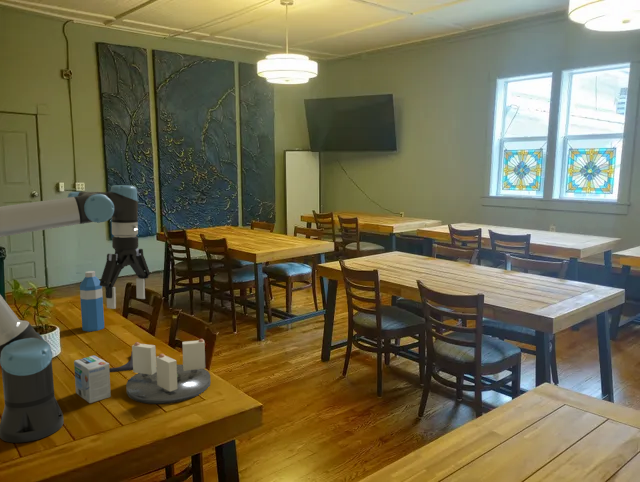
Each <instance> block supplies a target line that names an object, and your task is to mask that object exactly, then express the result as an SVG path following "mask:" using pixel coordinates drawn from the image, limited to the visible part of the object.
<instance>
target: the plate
mask: <svg viewBox="0 0 640 482" xmlns="http://www.w3.org/2000/svg"><path fill="white" fill-rule="evenodd" d="M156 371H157V366H156ZM210 386H211V374H210V372H209V371H208V370H207V369H206V368H205V369H197V372H196V373H192V372H191V370H186V371H184V370H183V364H177V389H176V390H173V391H170V392H164V388H162V387H160V386H158V385H157V372H156V373H154V374H152V375H149V374H148V376H146V377H142V373H136V374H134V375H132V376H131V377H130V378H128V380H127V382H126V385H125V387H126V389H125V390H126V394H127V395H126V396H128V397H129V399H131V400H133V401H136V402H138V403H143V404H148V405H149V404H150V405H167V404H175V403H179V402H183V401H188V400H190V399H191V400H192V399H193V398H196V397H198V396H200V395H201V393H202V392H203V393H205V392H206V391H207V390H208V389H209V388H210ZM208 387H209V388H208ZM207 388H208V389H207ZM206 389H207V390H206ZM205 390H206V391H205ZM204 391H205V392H204ZM203 393H202V394H203ZM199 394H200V395H199ZM195 396H196V397H195ZM187 399H188V400H187Z"/></svg>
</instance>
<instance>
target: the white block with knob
mask: <svg viewBox="0 0 640 482" xmlns="http://www.w3.org/2000/svg"><path fill="white" fill-rule="evenodd" d="M177 365H178V363H177V360H176V359H174V358H172V357H170V356H168V355H165V354H164V353H160V354H159V355H157V356H156V367H157V385H158V386H160V387H162V388H164V392H170V391H173V390H176V389H177Z"/></svg>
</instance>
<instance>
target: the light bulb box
mask: <svg viewBox="0 0 640 482" xmlns="http://www.w3.org/2000/svg"><path fill="white" fill-rule="evenodd" d="M73 366H74V381H75V383H74V384H75V386H74V387H75V393H76V394H77V395H78V396H79V397H80V398H82V399H83V400H85V401H86V402H87V403H89V404H93V403H96V402H98V401H101V400H105V399H108V398H111V397H112V395H111V393H112V392H111V376H110V373H111V372H109V368H110V363H109V362H107V361H105V360H104V359H102V358H100V357H98V356H97V355H89V356H87V357H83V358H80V359H76V360H74V361H73Z"/></svg>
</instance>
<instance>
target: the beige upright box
mask: <svg viewBox="0 0 640 482" xmlns="http://www.w3.org/2000/svg"><path fill="white" fill-rule="evenodd" d="M205 344H206V343H205V340H204V339H203V338H200V339H198V340H187V341H182V345H181V346H182V365H183V370H184V371H186V370H191V372H192V373H196V372H197V369H205V370H206V351H205V350H206V349H205V348H206V347H205Z"/></svg>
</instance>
